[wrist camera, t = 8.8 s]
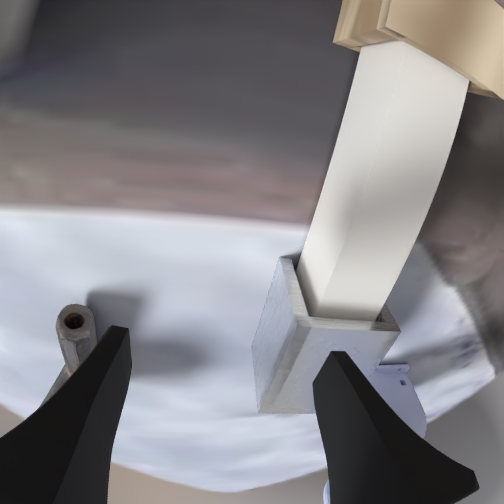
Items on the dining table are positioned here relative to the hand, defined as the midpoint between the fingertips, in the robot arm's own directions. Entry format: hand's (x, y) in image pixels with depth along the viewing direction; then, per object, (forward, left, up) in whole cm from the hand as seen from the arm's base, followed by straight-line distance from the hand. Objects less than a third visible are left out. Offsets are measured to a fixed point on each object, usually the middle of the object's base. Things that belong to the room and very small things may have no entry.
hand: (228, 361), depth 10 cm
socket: (-7, -15, -10) cm, 20 cm away
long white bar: (-7, -6, -10) cm, 14 cm away
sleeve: (-7, +5, -10) cm, 14 cm away
